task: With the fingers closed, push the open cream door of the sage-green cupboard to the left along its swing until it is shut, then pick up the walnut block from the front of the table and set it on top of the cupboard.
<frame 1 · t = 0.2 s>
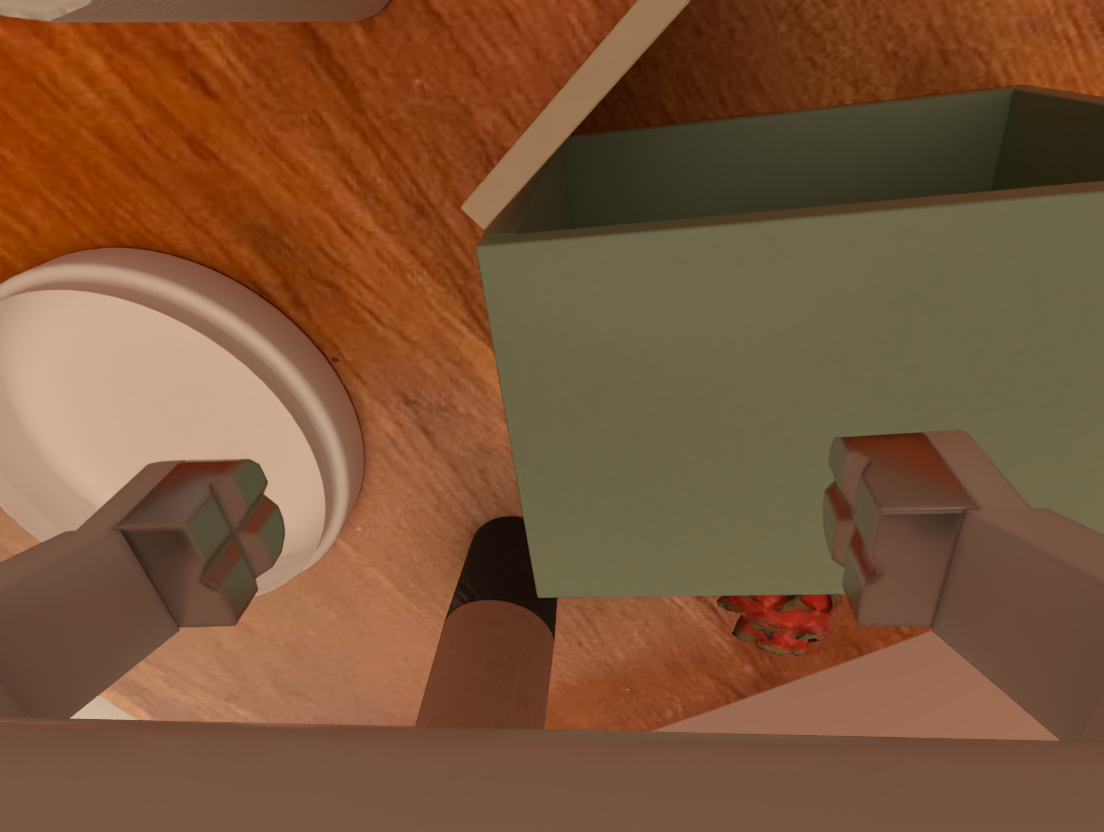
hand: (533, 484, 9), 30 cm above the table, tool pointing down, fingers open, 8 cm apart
travel mug: (516, 548, 51), on the table
plate: (187, 425, 48), on the table
cupboard: (766, 245, 37), on the table
dragon fruit: (762, 543, 49), on the table
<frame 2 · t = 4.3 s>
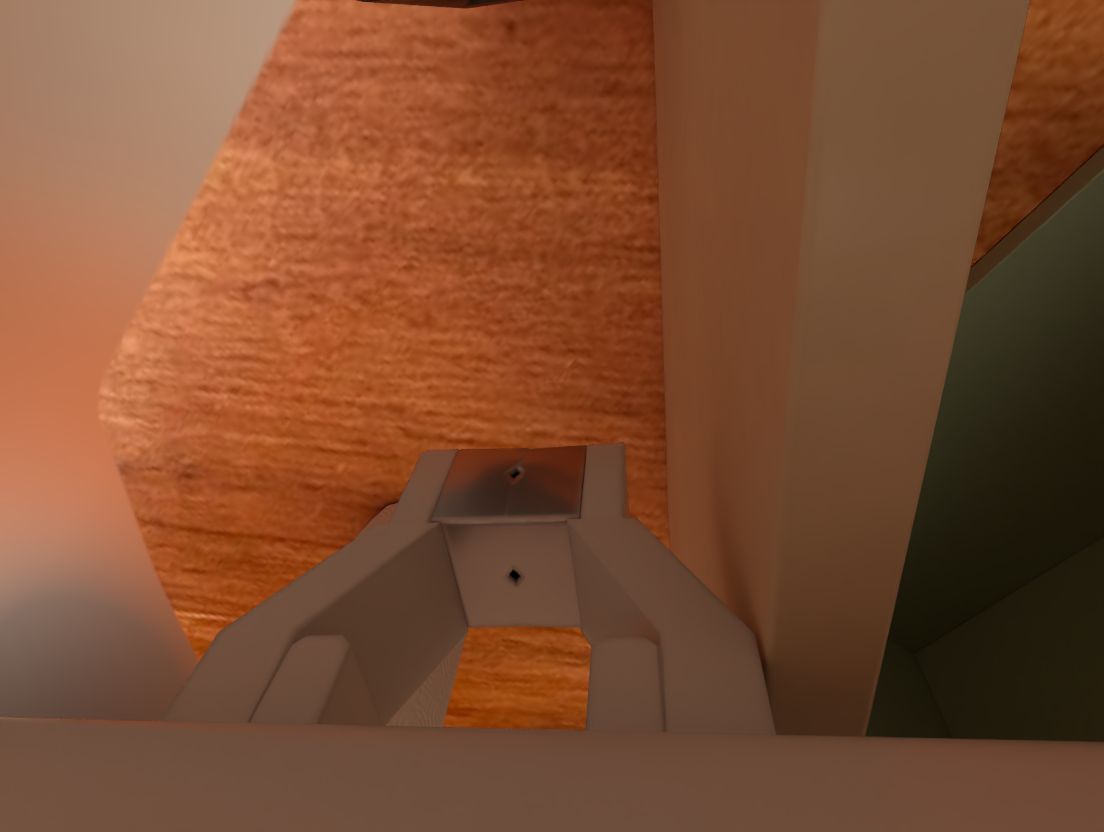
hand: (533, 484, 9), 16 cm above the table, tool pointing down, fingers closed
cupboard door: (580, 414, 16), point 10 cm above the table, hinge at 40.0°, touching gripper
cupboard: (1021, 429, 26), on the table
paper towel roll: (416, 538, 32), on the table
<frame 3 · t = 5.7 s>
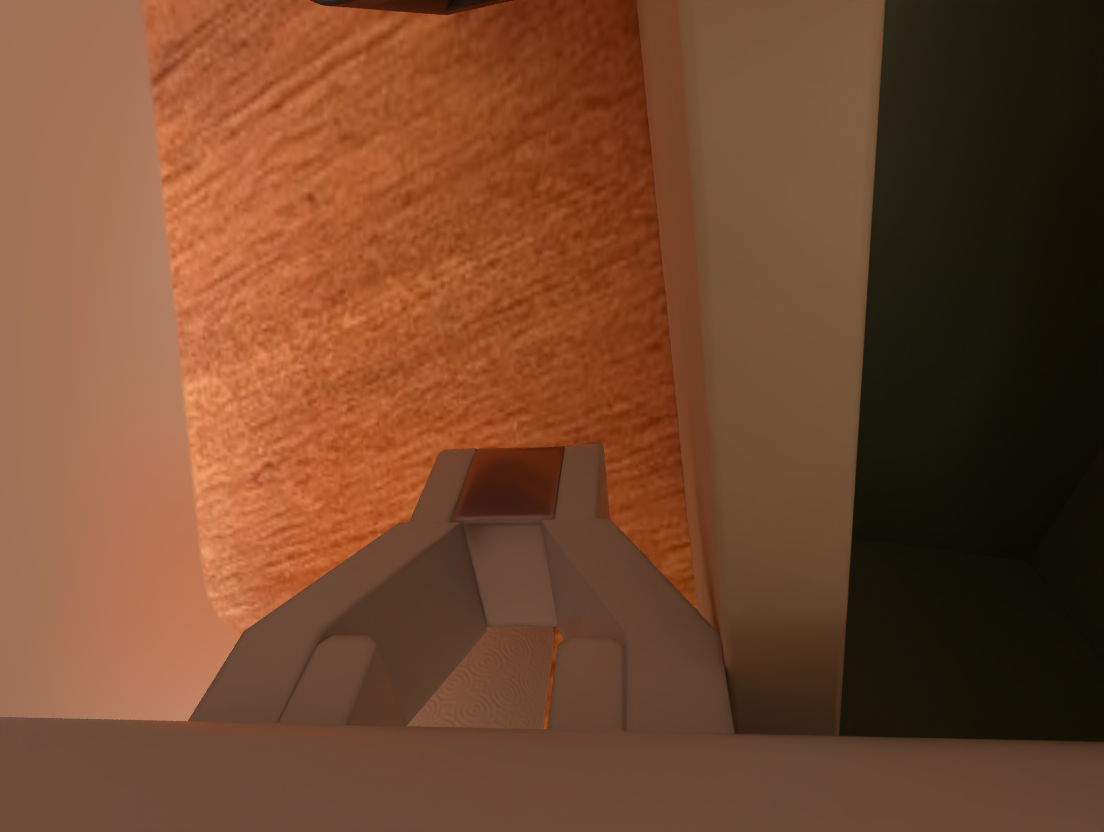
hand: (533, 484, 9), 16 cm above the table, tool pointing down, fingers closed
cupboard door: (578, 410, 15), point 10 cm above the table, hinge at 15.4°, touching gripper
cupboard: (985, 288, 23), on the table
paper towel roll: (489, 621, 35), on the table
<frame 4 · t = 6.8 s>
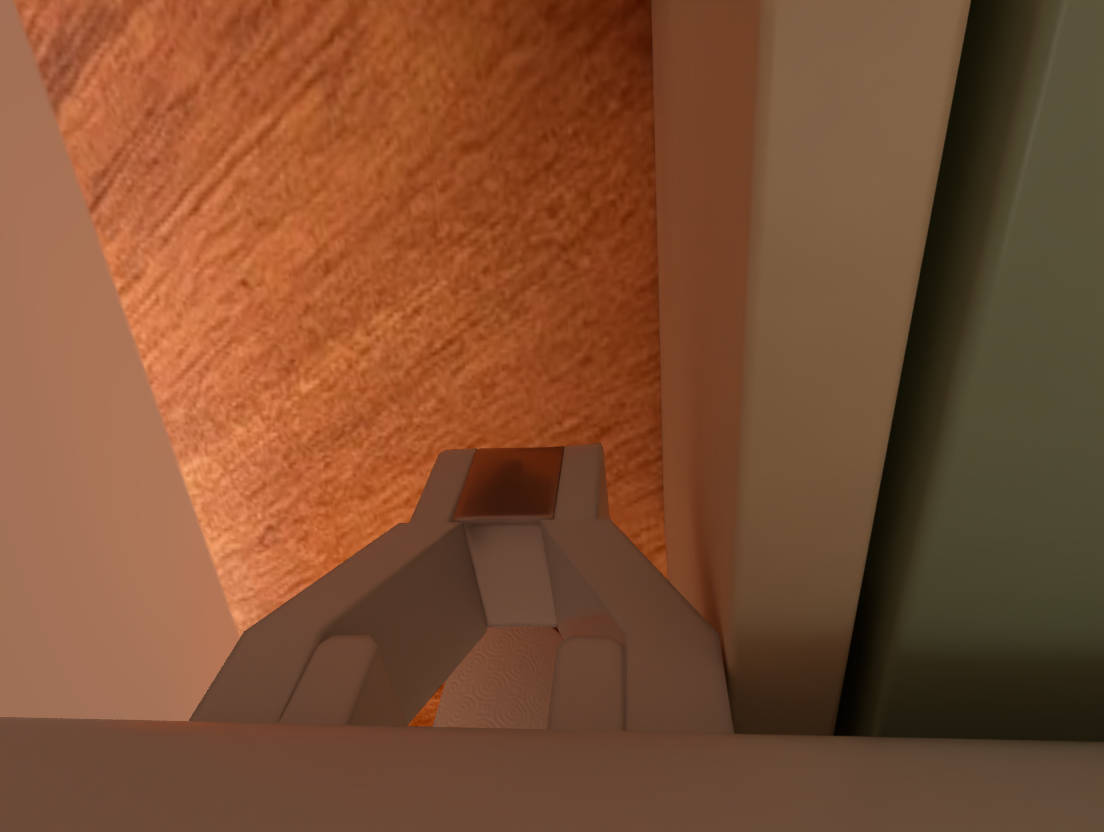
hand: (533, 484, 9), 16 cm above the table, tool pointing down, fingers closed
cupboard door: (569, 401, 15), point 10 cm above the table, hinge at -0.2°, touching gripper
cupboard: (894, 245, 22), on the table
paper towel roll: (505, 644, 36), on the table
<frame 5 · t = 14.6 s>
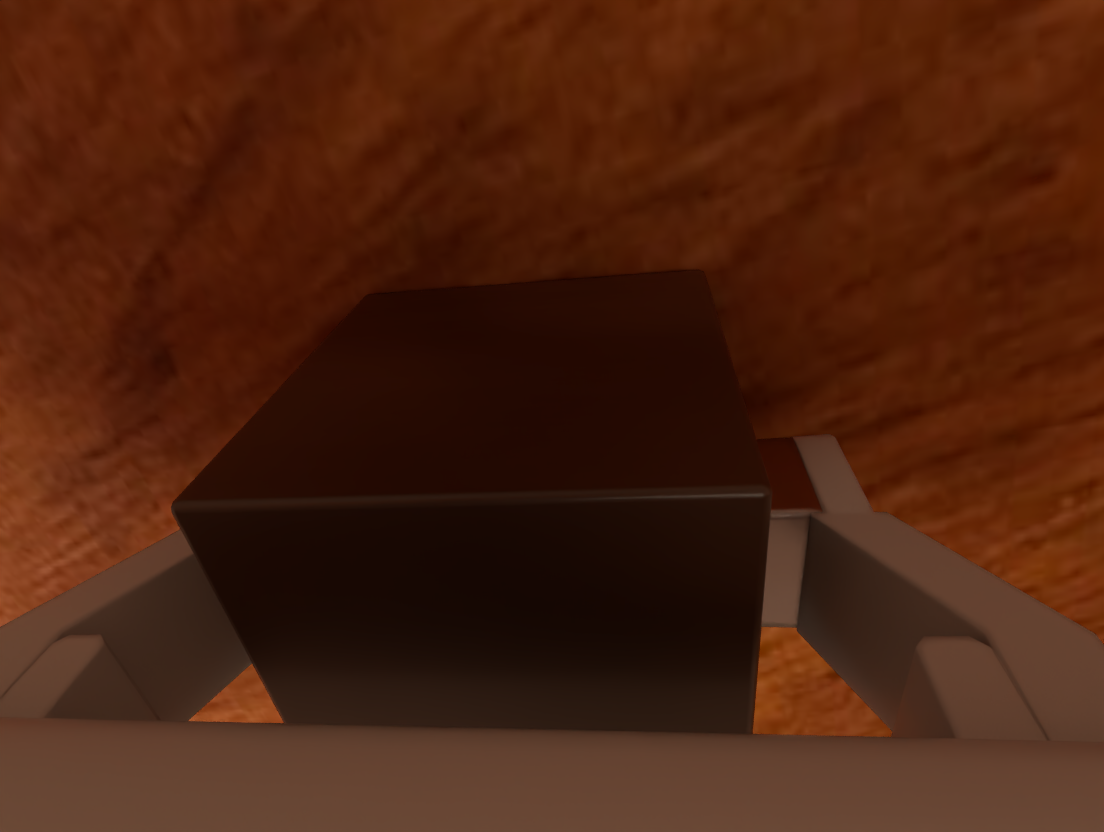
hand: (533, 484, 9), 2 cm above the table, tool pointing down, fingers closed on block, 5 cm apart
block: (548, 425, 11), on the table, touching gripper
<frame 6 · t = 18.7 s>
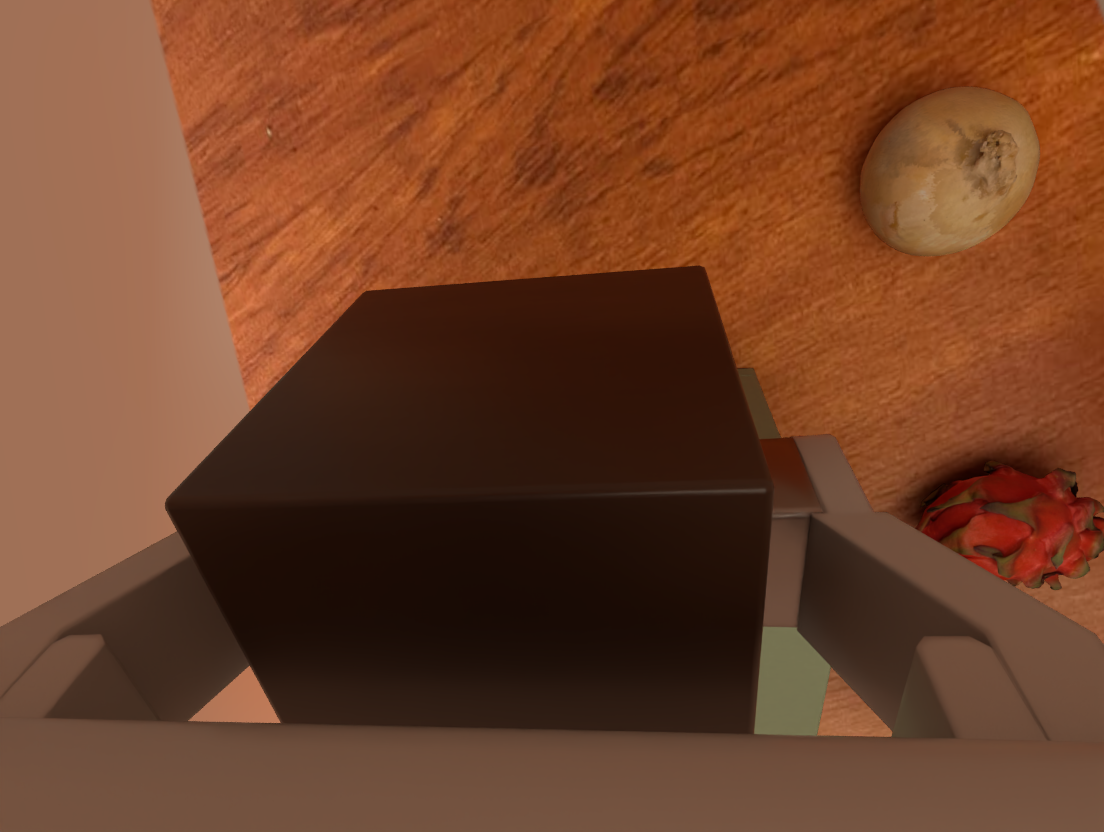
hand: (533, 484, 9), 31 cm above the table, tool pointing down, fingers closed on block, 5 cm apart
block: (547, 423, 11), point 30 cm above the table, touching gripper
cupboard: (647, 511, 49), on the table
dragon fruit: (972, 495, 46), on the table
onion: (919, 164, 35), on the table
when the fingers open (21 cm above the table, at t = 22.8 s): block stays where it is, resting on cupboard.
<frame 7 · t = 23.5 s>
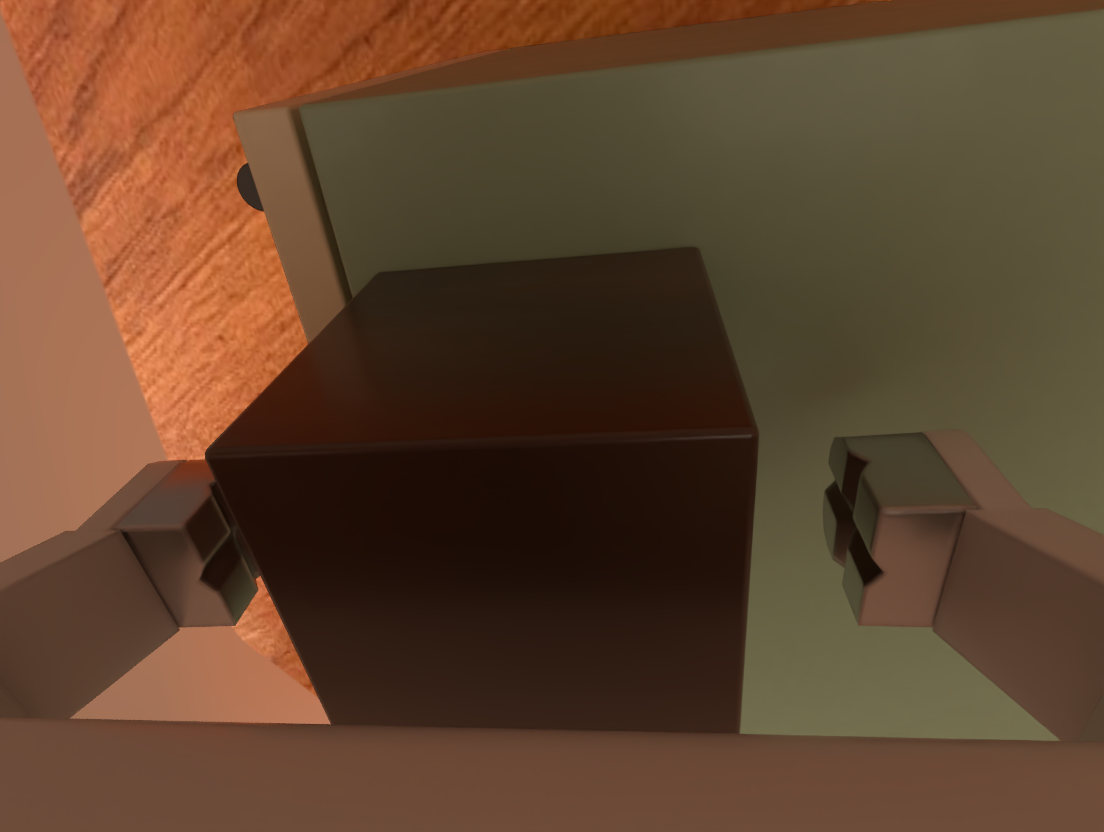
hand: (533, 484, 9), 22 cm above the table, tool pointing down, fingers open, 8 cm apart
cupboard door: (424, 437, 24), point 10 cm above the table, hinge at -0.2°
block: (550, 400, 11), point 20 cm above the table, touching cupboard
cupboard: (688, 314, 31), on the table
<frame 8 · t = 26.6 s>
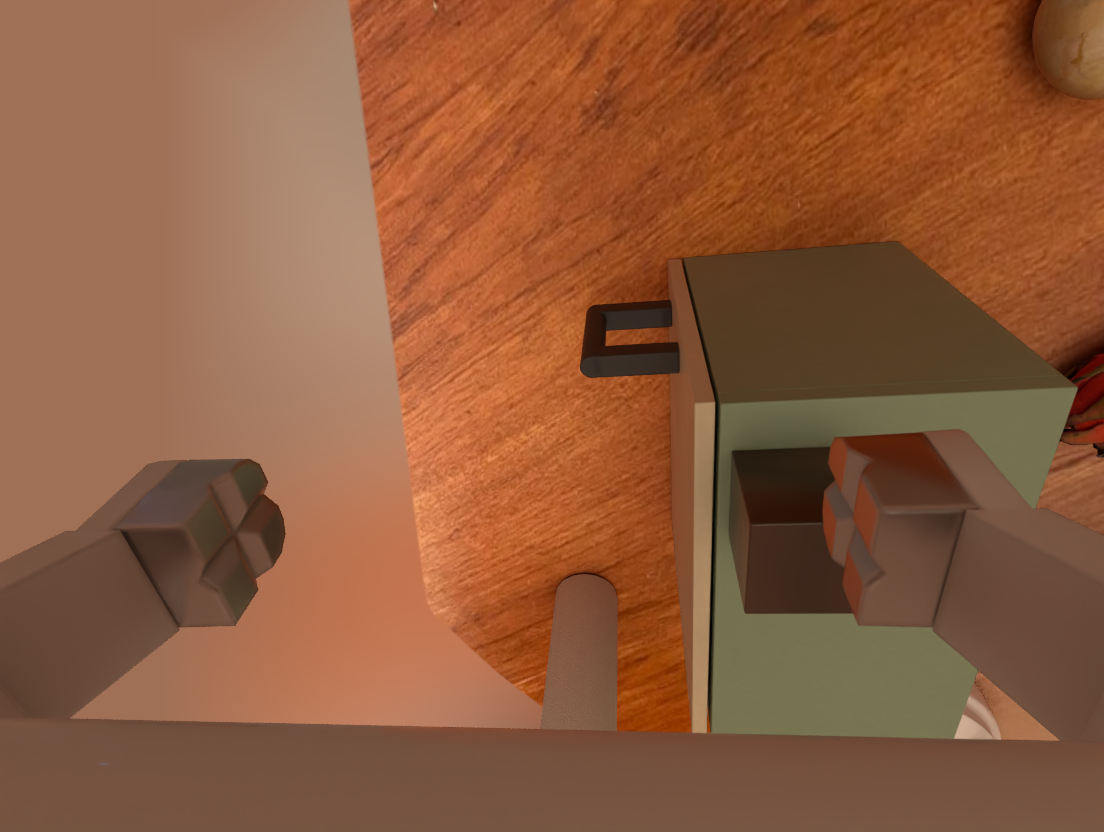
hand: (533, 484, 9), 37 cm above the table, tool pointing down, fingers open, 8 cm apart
cupboard door: (642, 485, 43), point 10 cm above the table, hinge at -0.2°
plate: (845, 723, 70), on the table
block: (785, 492, 30), point 20 cm above the table, touching cupboard
cupboard: (776, 402, 50), on the table
paper towel roll: (581, 594, 63), on the table
onion: (1086, 12, 36), on the table
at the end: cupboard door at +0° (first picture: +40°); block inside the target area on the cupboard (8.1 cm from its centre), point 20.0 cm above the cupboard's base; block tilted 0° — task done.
